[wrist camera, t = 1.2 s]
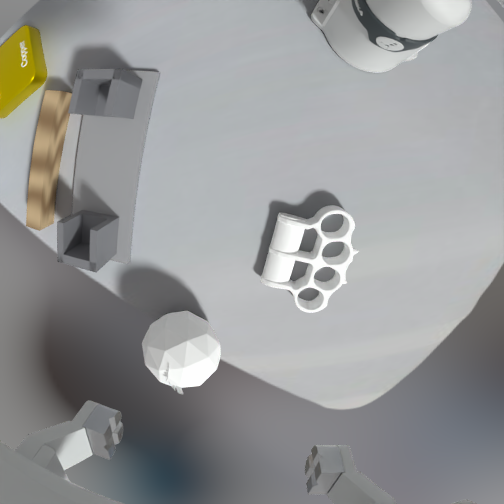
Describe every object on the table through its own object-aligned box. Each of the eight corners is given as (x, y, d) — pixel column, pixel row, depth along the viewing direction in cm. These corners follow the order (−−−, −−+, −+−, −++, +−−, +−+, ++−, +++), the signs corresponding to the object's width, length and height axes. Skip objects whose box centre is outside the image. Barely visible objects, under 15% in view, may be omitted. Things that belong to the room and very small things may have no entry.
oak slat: (61, 92, 39) (45, 90, 34) (76, 93, 39) (60, 90, 34) (41, 218, 46) (26, 225, 42) (54, 222, 47) (39, 230, 42)
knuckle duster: (283, 191, 46) (367, 214, 47) (255, 293, 52) (333, 308, 53) (285, 194, 42) (374, 219, 44) (255, 302, 48) (337, 318, 50)
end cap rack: (96, 71, 37) (68, 60, 29) (160, 73, 38) (140, 59, 30) (74, 248, 48) (47, 266, 40) (130, 262, 49) (109, 284, 41)
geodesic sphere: (236, 384, 51) (218, 397, 38) (169, 391, 52) (135, 403, 39) (223, 309, 56) (201, 300, 43) (157, 321, 57) (121, 314, 44)
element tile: (50, 80, 37) (34, 77, 33) (2, 122, 39) (-14, 122, 35) (39, 25, 33) (26, 20, 28) (-7, 68, 34) (-21, 66, 30)
